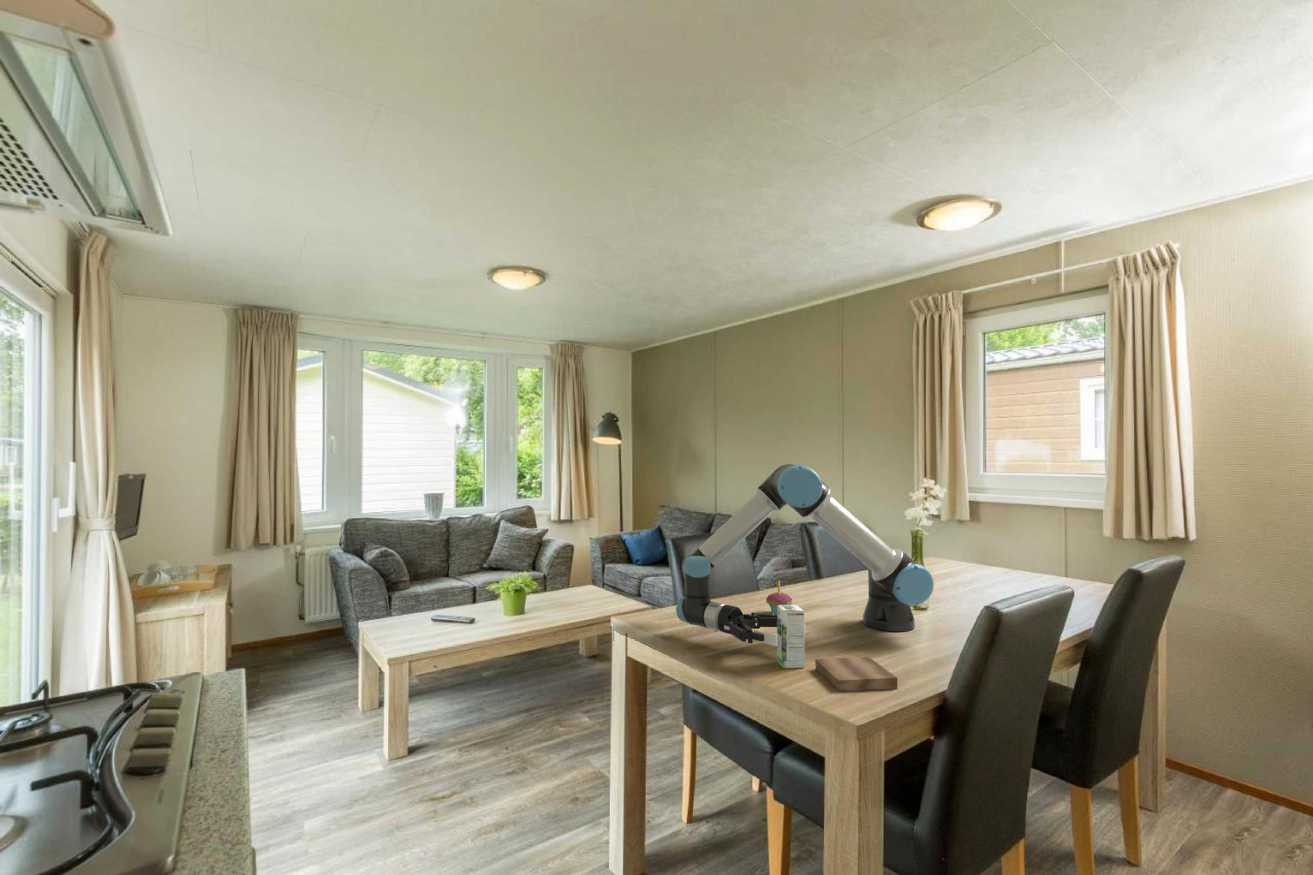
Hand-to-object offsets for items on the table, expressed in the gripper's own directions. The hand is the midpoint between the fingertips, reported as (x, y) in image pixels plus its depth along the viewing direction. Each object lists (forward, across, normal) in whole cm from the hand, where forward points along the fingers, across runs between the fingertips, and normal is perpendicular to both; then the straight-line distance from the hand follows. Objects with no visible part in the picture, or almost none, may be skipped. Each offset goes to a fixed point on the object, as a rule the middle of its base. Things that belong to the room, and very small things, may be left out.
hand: (791, 634), depth 154 cm
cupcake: (-28, -39, -8) cm, 49 cm away
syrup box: (0, 0, -8) cm, 8 cm away
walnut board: (+16, -2, -8) cm, 18 cm away
